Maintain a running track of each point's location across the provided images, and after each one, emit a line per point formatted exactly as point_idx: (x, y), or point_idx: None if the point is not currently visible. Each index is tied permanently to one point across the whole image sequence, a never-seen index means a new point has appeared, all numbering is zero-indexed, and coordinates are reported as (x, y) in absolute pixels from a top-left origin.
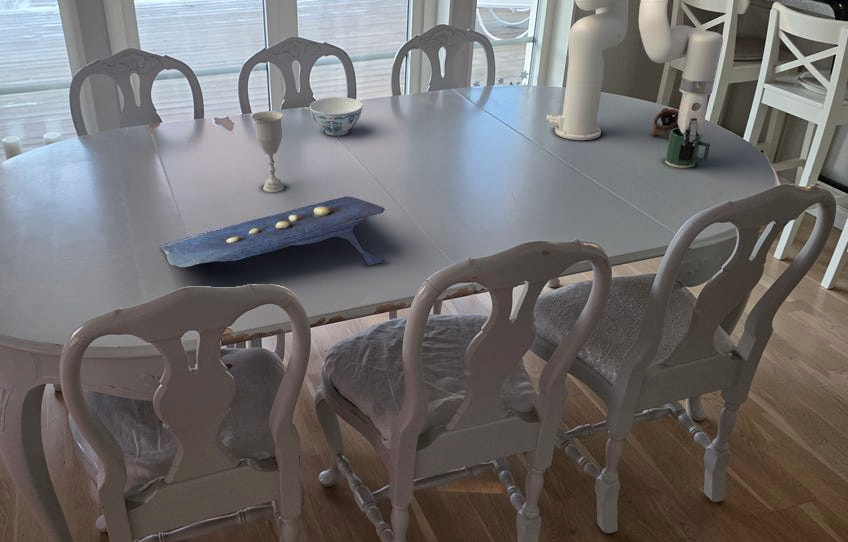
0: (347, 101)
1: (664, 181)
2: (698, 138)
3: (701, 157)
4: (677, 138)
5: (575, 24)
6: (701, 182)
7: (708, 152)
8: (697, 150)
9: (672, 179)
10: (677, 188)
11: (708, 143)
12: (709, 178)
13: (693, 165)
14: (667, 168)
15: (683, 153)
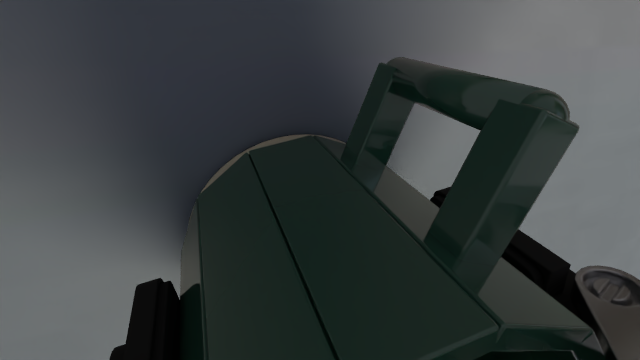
0: None
1: (552, 235)
2: (563, 309)
3: (393, 117)
4: None
5: None
6: (574, 61)
7: (466, 71)
8: (394, 192)
9: (533, 210)
10: (623, 170)
11: (575, 130)
12: (521, 7)
13: (341, 141)
14: None
15: None
